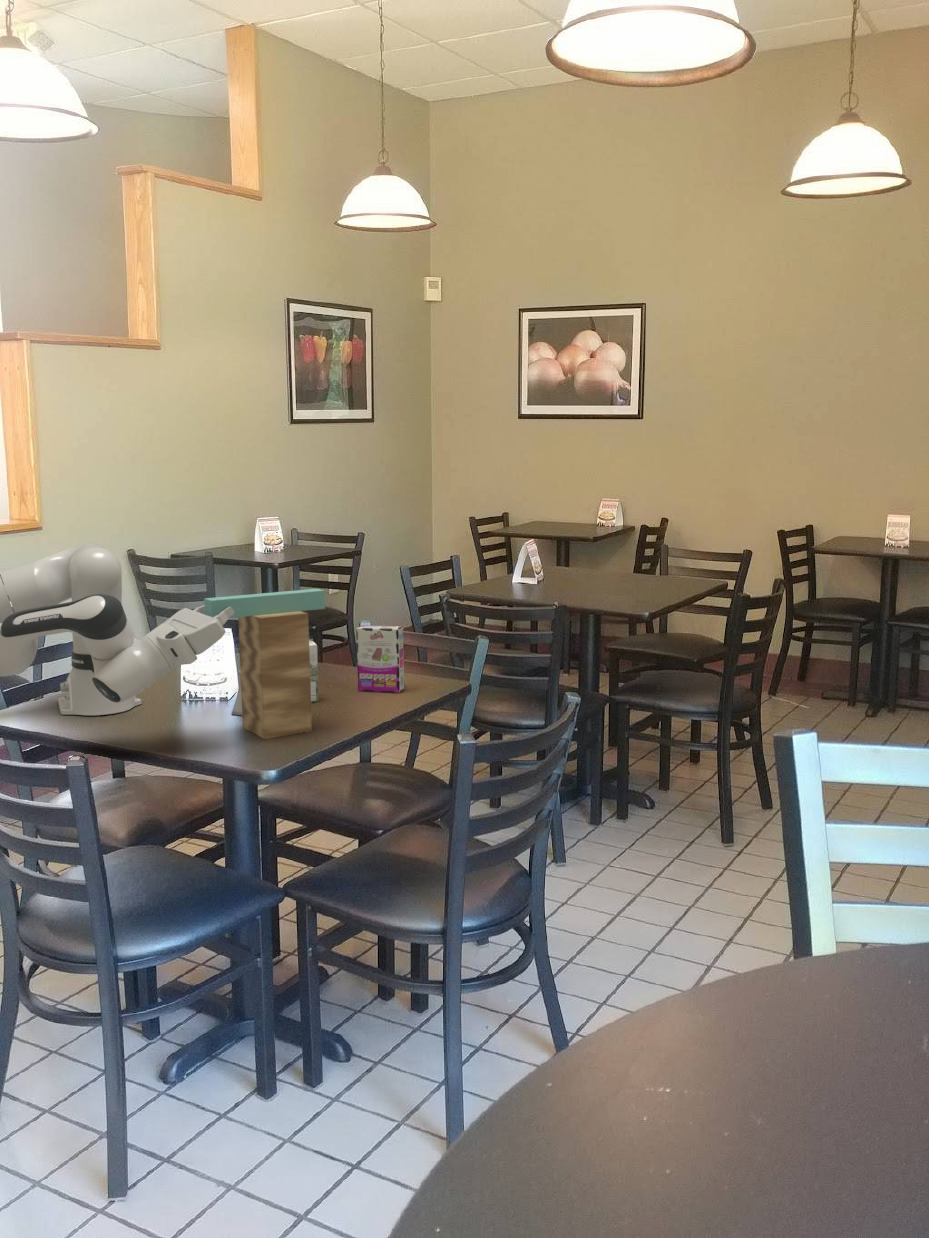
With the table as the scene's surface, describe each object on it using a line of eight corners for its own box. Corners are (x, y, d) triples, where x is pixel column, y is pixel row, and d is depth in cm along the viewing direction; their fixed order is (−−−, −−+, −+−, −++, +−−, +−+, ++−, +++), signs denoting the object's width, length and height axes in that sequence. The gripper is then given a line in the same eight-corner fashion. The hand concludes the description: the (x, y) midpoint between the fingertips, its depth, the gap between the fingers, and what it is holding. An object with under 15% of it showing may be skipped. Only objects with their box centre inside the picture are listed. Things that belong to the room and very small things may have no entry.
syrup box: (311, 697, 270) (309, 639, 268) (319, 702, 265) (317, 643, 262) (289, 699, 267) (287, 641, 265) (296, 704, 262) (294, 645, 260)
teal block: (204, 617, 229) (204, 598, 229) (317, 606, 244) (316, 588, 243) (211, 619, 226) (211, 600, 225) (325, 608, 240) (324, 590, 240)
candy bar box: (405, 689, 278) (404, 625, 275) (399, 693, 273) (398, 629, 270) (363, 687, 280) (362, 624, 278) (357, 691, 276) (355, 627, 273)
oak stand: (242, 727, 242) (238, 611, 237) (288, 719, 248) (284, 606, 244) (264, 739, 232) (260, 618, 228) (311, 731, 238) (308, 613, 234)
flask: (255, 717, 251) (254, 674, 249) (226, 715, 252) (224, 673, 250) (267, 709, 258) (266, 668, 256) (238, 708, 259) (237, 667, 257)
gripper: (160, 649, 233) (213, 612, 239) (194, 665, 217) (249, 625, 222) (144, 625, 231) (198, 588, 236) (177, 639, 214) (234, 599, 219)
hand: (223, 606), depth 229 cm, fingers open, 8 cm apart
